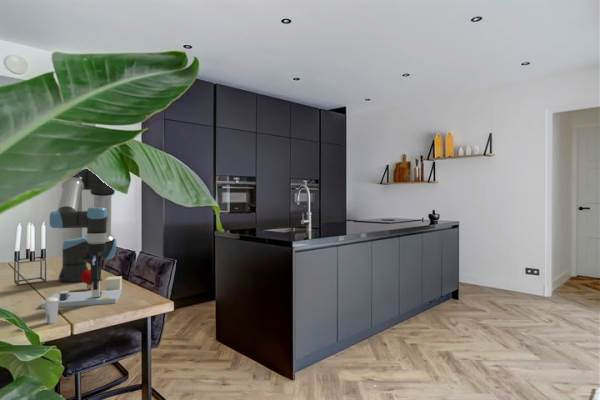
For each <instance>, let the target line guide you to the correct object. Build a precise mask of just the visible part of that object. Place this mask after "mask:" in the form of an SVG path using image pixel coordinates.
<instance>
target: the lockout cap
mask: <svg viewBox="0 0 600 400" xmlns="http://www.w3.org/2000/svg"><path fill="white" fill-rule="evenodd" d="M104 286H105V289H104V290H120V289H121V291H122V290H123V276H122V275H120V276H118V275H117V276H108V277H107V278H106V279H105V285H104Z"/></svg>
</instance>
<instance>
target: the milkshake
mask: <svg viewBox="0 0 600 400" xmlns="http://www.w3.org/2000/svg"><path fill="white" fill-rule="evenodd" d="M59 298H60V296H59ZM59 298H56V297H54V298H49V297H48V298H46V299H45V300H44V301H45V302H44V301H43V302H44V303H45V308H44V312H45V313H44V314H45V323H46V324H47V325H51V324H56V323H57V322H58V316H59V315H58V314H59V308H60V307H59Z"/></svg>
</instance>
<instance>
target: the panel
mask: <svg viewBox="0 0 600 400" xmlns="http://www.w3.org/2000/svg"><path fill="white" fill-rule="evenodd" d="M121 295H122V290H121V289H120V290H105V289H104V290H102V295H101V297H96V298H94V297H92V290H89V291H88V290H87V291H76V292H72V291H71V292H68V298H67V299H66V300H60V298H59V296H60V292H59V293H56V292H55V293H53V294H51V295H50V296H49V297H48V298H54V297H56V298H59V307H58V308H66V307H67V308H68V307H69V308H70V307H81V306H93V305H95V306H96V305H108V304H109V305H110V304H117V302H118V300H119V298H120V296H121ZM44 302H45V300H44V301H42V302H41V303H40V309H45V303H44Z"/></svg>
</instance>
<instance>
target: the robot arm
mask: <svg viewBox="0 0 600 400" xmlns="http://www.w3.org/2000/svg"><path fill="white" fill-rule="evenodd" d="M61 187H62V192H61V195H60V199H59V204H58V208H57V210H55V211H54V210H53V211H51V212H50V213H49V226H50V227H51V228H53V229H78V228H80V229H85V228H86V235H85V237H76V238H71V239H67V240H64V241H63V243H62V249H61V251H62V261H61V262H62V265H61V270H60V272H59V273H58V274H59V275H58V280H57V282H60V283H76V282H83V281H82V280H81V274H82V273H83V272H84V271H85V270H89V267H88V264H87V263H88V261H89V264H90V269H91V281H90V282H92V289H91V291H92V297H99V296H100V289H101V281H103V279H102V262H103V260H104V261H105V260H106V261H107V260H112V259H114V257H115V255H116V250H117V241H118V240H117V239H116V238H115V236H114V235H113V234H112V196H114V195H115V192H116V191H115V190H113V189H112V188H110V187H109V186H107V185H106V184H105V183H103V182H102V181H101V180H100V179H99V178H98V177H97V176H96V175H95V174H93V173H92V172H91V171H89V170H88V169H84V170H82V171H81V172H79V173H78V174H76V175H75V176H73V177H72V178H70V179H69V180H67V181H65V182H64V183H62V182H61ZM83 190H85V191H86V190H87V191H90V194H91V195H92V196H93V207H88V208H87V210H78V208H79V204H80V203H79V202H80V199H81V192H83Z"/></svg>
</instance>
